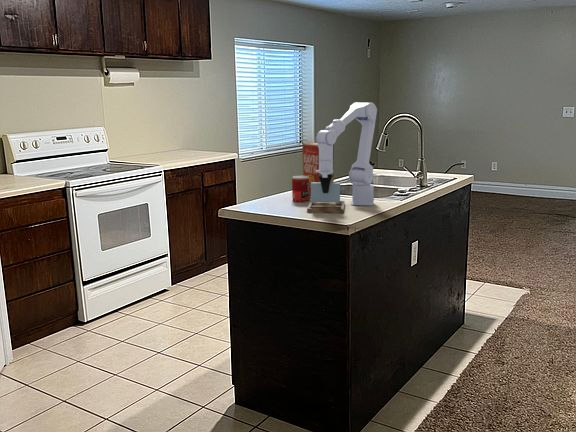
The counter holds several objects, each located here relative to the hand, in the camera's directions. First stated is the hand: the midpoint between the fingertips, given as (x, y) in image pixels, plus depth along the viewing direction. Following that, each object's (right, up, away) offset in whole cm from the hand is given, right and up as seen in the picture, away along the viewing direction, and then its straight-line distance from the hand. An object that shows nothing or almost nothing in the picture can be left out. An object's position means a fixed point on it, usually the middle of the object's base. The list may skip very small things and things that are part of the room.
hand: (325, 192), depth 237 cm
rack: (+1, -6, +7) cm, 10 cm away
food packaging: (-1, 0, +36) cm, 36 cm away
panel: (0, -4, +1) cm, 4 cm away
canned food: (-10, -3, +25) cm, 27 cm away
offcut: (+1, -7, +7) cm, 10 cm away
